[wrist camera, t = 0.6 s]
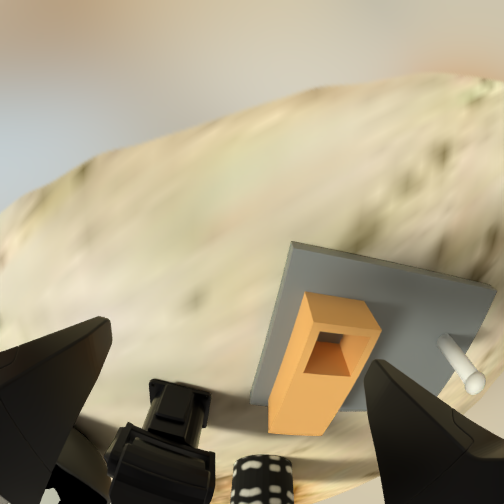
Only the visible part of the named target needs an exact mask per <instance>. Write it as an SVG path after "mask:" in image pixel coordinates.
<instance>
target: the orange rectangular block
mask: <svg viewBox="0 0 504 504" xmlns="http://www.w3.org/2000/svg"><path fill="white" fill-rule="evenodd" d="M320 331H321V332H329V333H337V334H343V336H342V339H341V341H340V343H339V344H337V343H328V342H319V341H316V340H317V338H318V335H319V332H320ZM381 331H382V330H381V328H380V326H379V325H378V323H377V321H376V320H375V318H374V316H373V315H372V313H371V311H370V310H369V308H368V307H367V305H366V303H365V302H364V301H361V300H355V299H349V298H342V297H336V296H330V295H324V294H318V293H312V292H306V291H305V292H304V296H303V299H302V302H301V306H300V309H299V312H298V315H297V318H296V321H295V325H294V328H293V331H292V334H291V337H290V340H289V343H288V346H287V349H286V352H285V355H284V358H283V361H282V363H281V366H280V369H279V372H278V375H277V378H276V380H275V383H274V386H273V389H272V391H271V394H270V397H269V399H268V433H274V434H287V435H306V436H322V434H323V433H324V432H325V430H326V429H327V427H328V426H329V424H330V423H331V421H332V420H333V418H334V416H335V415H336V413H337V412H338V410H339V409H340V407H341V405H342V404H343V402H344V400H345V399H346V397H347V395H348V394H349V392H350V390H351V389H352V387H353V385H354V383H355V382H356V380H357V378H358V376H359V374H360V373H361V371H362V369H363V367H364V365H365V363H366V361H367V360H368V358H369V356H370V354H371V352H372V350H373V348H374V346H375V344H376V342H377V340H378V338H379V335H380V333H381Z"/></svg>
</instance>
